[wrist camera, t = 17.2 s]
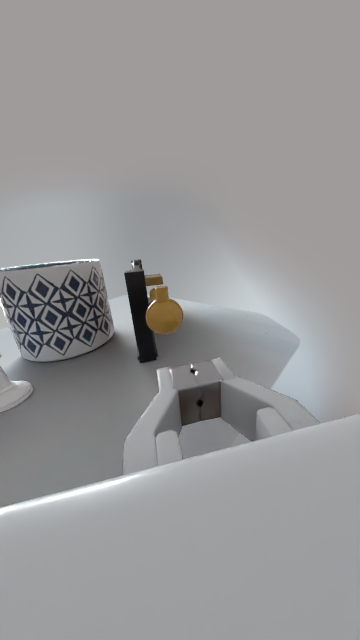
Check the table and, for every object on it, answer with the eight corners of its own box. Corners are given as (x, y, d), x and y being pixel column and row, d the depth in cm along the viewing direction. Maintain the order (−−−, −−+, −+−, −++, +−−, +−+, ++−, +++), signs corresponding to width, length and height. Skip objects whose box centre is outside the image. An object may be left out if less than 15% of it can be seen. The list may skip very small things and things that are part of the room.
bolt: (145, 307, 26) (140, 274, 24) (169, 304, 26) (165, 272, 25) (149, 343, 16) (141, 292, 15) (188, 337, 16) (184, 287, 15)
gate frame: (138, 308, 56) (130, 260, 51) (155, 306, 56) (149, 258, 52) (138, 364, 29) (121, 273, 24) (171, 358, 30) (161, 269, 25)
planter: (100, 320, 49) (85, 259, 44) (128, 339, 37) (113, 259, 32) (20, 342, 40) (-10, 269, 35) (24, 377, 28) (-20, 273, 23)
